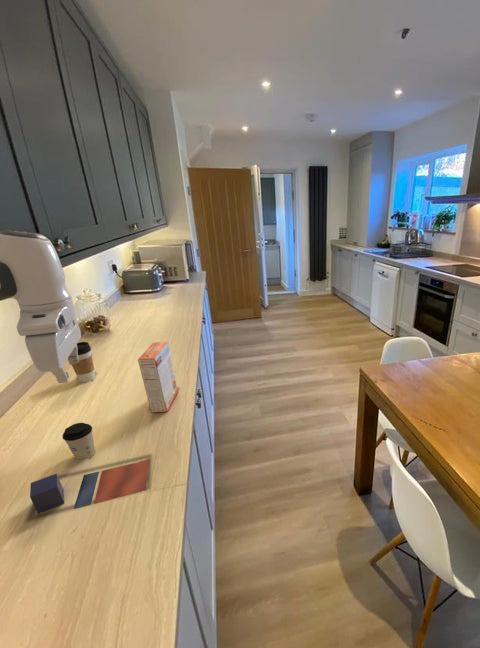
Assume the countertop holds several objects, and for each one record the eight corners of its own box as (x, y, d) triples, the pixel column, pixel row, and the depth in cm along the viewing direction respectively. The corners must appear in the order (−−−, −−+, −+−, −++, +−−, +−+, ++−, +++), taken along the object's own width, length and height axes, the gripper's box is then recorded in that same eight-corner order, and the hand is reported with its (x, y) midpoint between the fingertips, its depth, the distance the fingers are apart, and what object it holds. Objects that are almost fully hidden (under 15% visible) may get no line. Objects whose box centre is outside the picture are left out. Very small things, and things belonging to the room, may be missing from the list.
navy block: (39, 516, 73) (29, 497, 71) (39, 501, 77) (30, 482, 75) (65, 505, 76) (57, 486, 74) (64, 491, 80) (56, 473, 77)
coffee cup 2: (99, 445, 96) (90, 417, 92) (100, 459, 91) (91, 430, 87) (71, 453, 93) (61, 425, 89) (71, 469, 87) (60, 439, 83)
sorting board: (32, 523, 73) (31, 521, 72) (48, 484, 83) (47, 482, 82) (147, 492, 80) (147, 490, 80) (149, 460, 91) (149, 458, 90)
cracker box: (162, 392, 124) (152, 341, 115) (178, 391, 124) (169, 341, 115) (149, 413, 111) (136, 358, 102) (167, 412, 111) (156, 358, 102)
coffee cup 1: (101, 378, 133) (92, 345, 127) (78, 386, 128) (67, 351, 121) (95, 371, 139) (85, 339, 132) (72, 378, 133) (61, 345, 127)
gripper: (47, 302, 75) (65, 355, 81) (12, 331, 58) (38, 396, 63) (78, 299, 77) (94, 352, 83) (53, 326, 60) (75, 390, 66)
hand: (69, 371), depth 73 cm, fingers open, 8 cm apart
